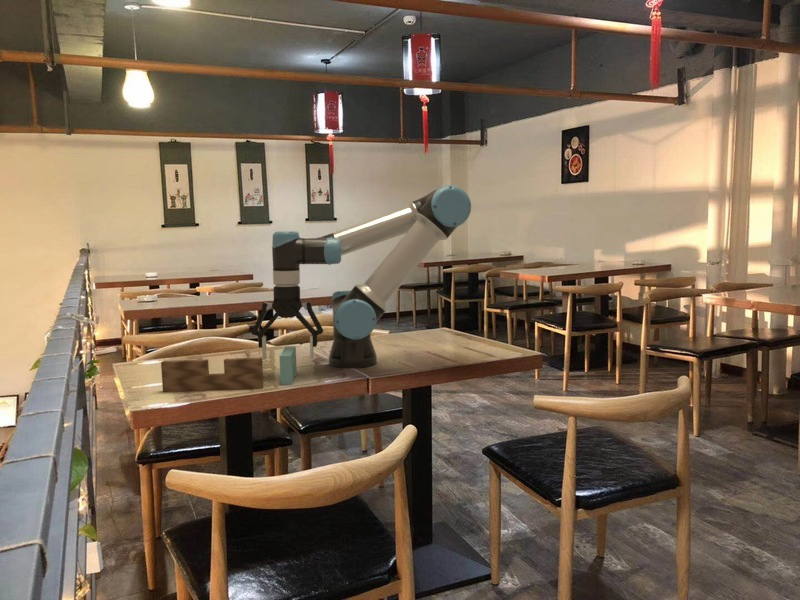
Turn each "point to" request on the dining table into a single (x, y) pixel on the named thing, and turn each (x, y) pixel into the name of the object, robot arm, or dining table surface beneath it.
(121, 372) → the dining table surface
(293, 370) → the teal green block
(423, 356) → the dining table surface
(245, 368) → the walnut board
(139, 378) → the dining table surface
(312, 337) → the robot arm
